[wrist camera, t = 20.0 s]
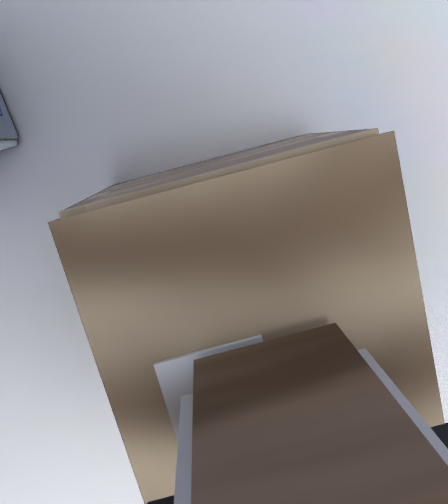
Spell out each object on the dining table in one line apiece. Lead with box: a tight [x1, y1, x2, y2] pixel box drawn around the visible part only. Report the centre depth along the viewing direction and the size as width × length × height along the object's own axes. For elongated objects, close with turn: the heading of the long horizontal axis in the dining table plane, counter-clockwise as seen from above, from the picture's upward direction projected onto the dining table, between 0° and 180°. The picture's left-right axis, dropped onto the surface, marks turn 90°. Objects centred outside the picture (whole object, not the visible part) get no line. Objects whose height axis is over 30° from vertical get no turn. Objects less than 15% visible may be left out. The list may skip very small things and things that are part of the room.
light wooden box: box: [58, 128, 379, 219], centre depth 22 cm, size 16×12×10 cm
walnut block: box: [191, 323, 448, 504], centre depth 11 cm, size 5×5×7 cm
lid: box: [48, 131, 445, 504], centre depth 16 cm, size 16×12×1 cm
